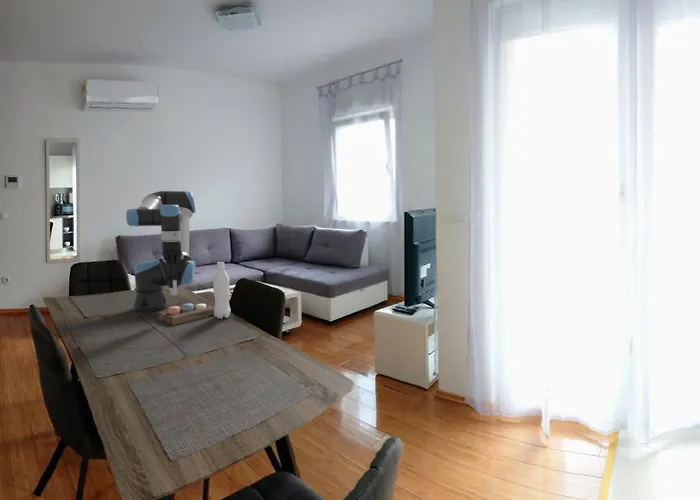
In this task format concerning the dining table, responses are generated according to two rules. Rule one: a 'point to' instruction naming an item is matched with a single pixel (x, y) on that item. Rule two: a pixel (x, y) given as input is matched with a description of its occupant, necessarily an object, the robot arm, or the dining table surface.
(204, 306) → the cream rounded lump
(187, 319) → the brown wooden tray
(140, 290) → the robot arm
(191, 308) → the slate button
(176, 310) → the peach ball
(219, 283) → the water bottle
